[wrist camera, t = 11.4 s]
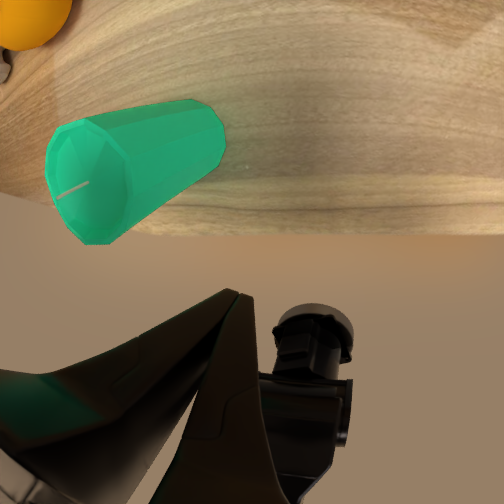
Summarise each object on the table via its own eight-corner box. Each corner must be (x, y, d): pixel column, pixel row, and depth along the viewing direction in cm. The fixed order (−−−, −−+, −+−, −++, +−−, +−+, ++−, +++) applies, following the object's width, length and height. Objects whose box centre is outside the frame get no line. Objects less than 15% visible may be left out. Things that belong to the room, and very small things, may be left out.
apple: (27, 21, 18) (-31, 26, 12) (68, -38, 14) (8, -46, 8) (50, 64, 20) (-15, 74, 14) (98, 0, 16) (28, -8, 10)
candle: (221, 187, 22) (115, 279, 12) (150, 171, 23) (30, 242, 13) (232, 104, 19) (107, 130, 9) (154, 96, 20) (15, 125, 10)
